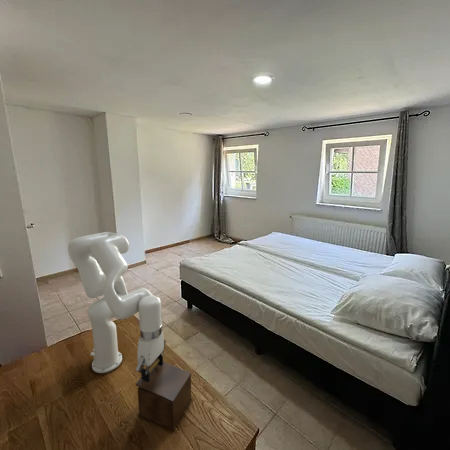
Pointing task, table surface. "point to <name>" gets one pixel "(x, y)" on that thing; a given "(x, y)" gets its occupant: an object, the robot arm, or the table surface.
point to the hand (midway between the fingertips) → (152, 371)
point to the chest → (164, 406)
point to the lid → (165, 380)
